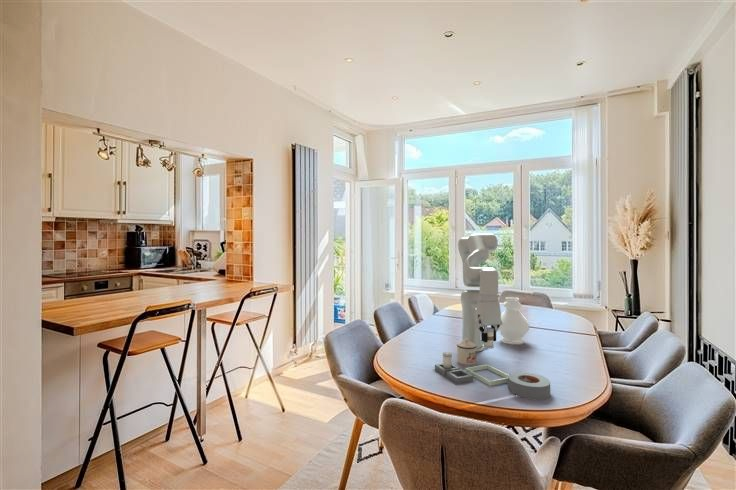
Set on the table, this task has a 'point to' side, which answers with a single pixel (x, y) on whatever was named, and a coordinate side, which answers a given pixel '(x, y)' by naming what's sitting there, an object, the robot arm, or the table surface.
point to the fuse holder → (454, 374)
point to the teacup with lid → (466, 352)
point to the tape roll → (529, 385)
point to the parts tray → (490, 383)
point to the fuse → (447, 360)
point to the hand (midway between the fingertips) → (488, 340)
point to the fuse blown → (490, 338)
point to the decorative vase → (513, 322)
